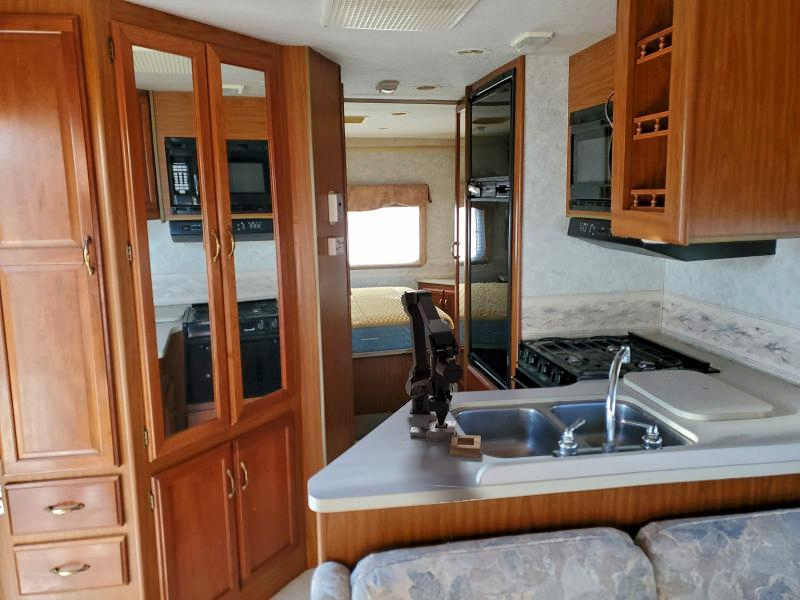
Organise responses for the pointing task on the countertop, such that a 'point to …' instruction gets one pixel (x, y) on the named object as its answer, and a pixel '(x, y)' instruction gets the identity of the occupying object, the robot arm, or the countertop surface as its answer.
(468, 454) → the frame
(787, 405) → the countertop surface
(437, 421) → the hitch pin
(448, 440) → the block
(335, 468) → the countertop surface
